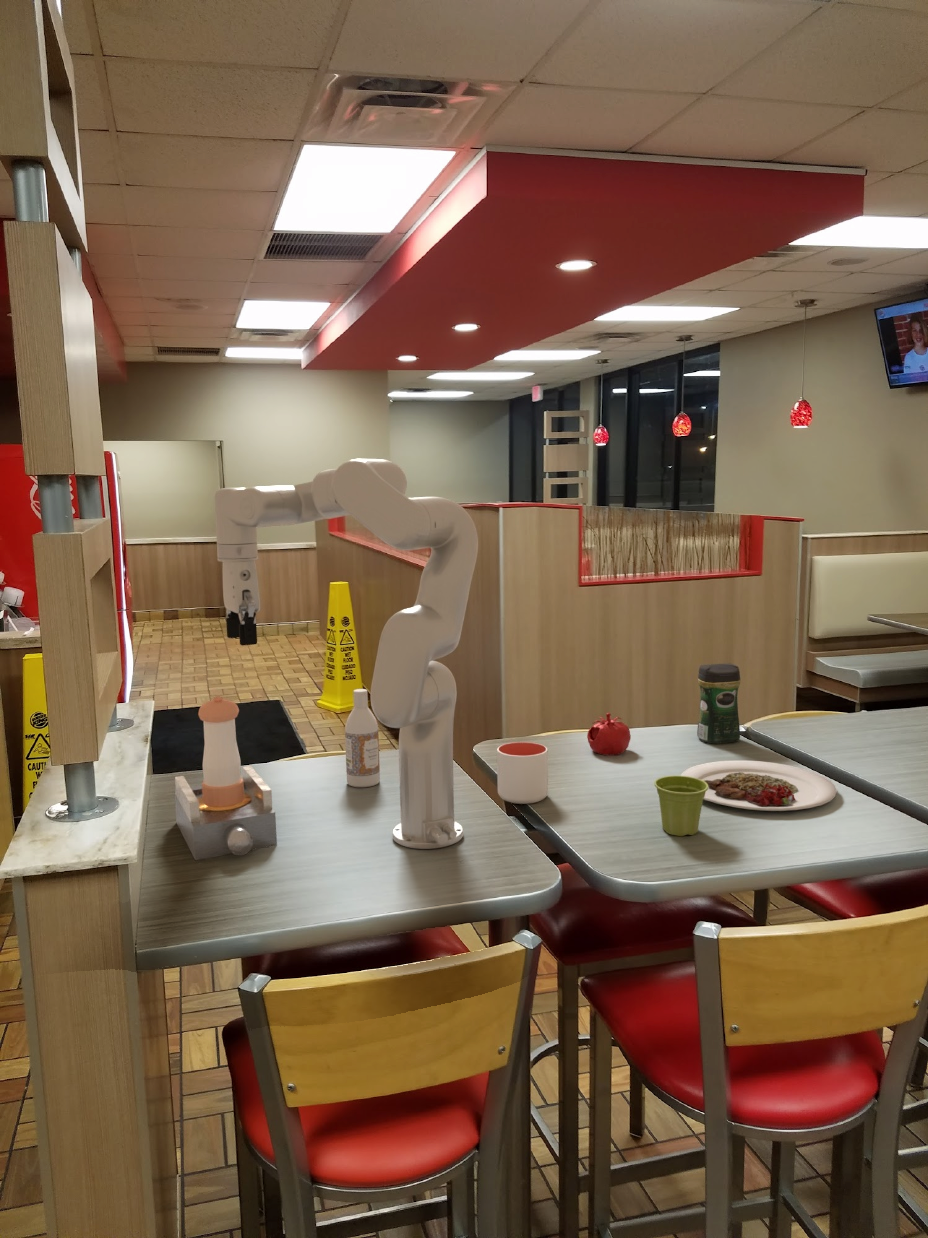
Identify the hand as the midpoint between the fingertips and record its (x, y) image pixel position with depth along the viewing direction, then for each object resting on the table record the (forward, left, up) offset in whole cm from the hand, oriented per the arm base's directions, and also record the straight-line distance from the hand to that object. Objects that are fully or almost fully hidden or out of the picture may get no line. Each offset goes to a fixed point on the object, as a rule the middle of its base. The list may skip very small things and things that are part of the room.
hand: (241, 640), depth 180 cm
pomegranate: (-5, -82, -33) cm, 89 cm away
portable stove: (-16, +8, -33) cm, 37 cm away
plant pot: (-52, -65, -33) cm, 90 cm away
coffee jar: (-10, -110, -33) cm, 115 cm away
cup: (-23, -49, -33) cm, 63 cm away
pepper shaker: (-14, +8, -27) cm, 31 cm away
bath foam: (+1, -24, -33) cm, 41 cm away
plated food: (-42, -92, -33) cm, 107 cm away
